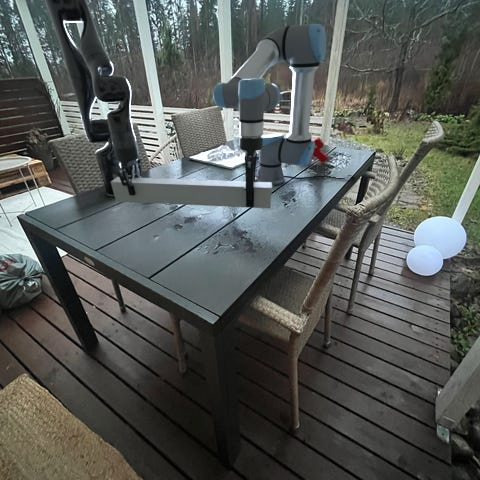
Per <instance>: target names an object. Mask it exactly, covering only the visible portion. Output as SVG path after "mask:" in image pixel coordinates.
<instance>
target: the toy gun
mask: <svg viewBox="0 0 480 480" xmlns="http://www.w3.org/2000/svg"><path fill="white" fill-rule="evenodd" d="M312 141H314V142H315V148H314V152H313V155H312V158H311V160H313V159H314V158H316V159H317V160H319V161H320V163H321V162H324V163H325V161H326V163H327V162H328V159H329V156H328V155H327V154H326V153H325V152H323V151H322V150H321V149H323V147H324V145H325V143H324V142H323V140H322V138H321V137H320V136H318V137H316V138H314V139H313V140H312ZM324 163H321V165H323V164H324Z"/></svg>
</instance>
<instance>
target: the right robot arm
mask: <svg viewBox="0 0 480 480" xmlns="http://www.w3.org/2000/svg"><path fill="white" fill-rule="evenodd" d="M326 33H327V32H326V30H325V27H324V25H322V24H320V23H307V24H306V23H305V24H296V25H295V24H294V25H284V26H280V27H278V28H276V29H274V30H272V31H271V32H269V33H268V34H266V35H265V36H264V37H263V38H262V39H261V40H260V41H259V42H258V44H257V45H256V49H255V51H254V52H253V54H251V56H249V57H248V59H247V60H246V61H245V62H244V63H243V65H242V66H240V68H239V69H238V70H237V71H236V72H235V73H234V74H233V76H231V78H230V79H229V80H228V81H227V82H219V83H216V84H215V86H214V88H213V91H212V98H213V102H214V104H215V105H216V107H218V108H223V109H231V110H232V109H233V110H234V109H235V110H238V124H237V125H236V126H237V128H238V132H239V133H238V135H240V136H239V137H238V146H239V148H238V149H241V150H243V151H244V152H245V157H244V160H245V163H244V169H245V181H246V188H244V190H246V207H245V208H250V207H254V182H272V186H279V185H281V184H283V183H284V181H285V178H286V179H294V180H306V179H307V180H308V179H313V178H315V179H316V178H330V179H333V180H334V179H335V180H345V179H346V178H336V177H337V176H333V177H331V176H332V175H327V176H318V175H312V176H313V177H308V176H303V177H302V176H301V177H296V176H291V175H284V172H283V171H284V170H283V167H282V165H283V164H286V165H287V164H288V165H292V166H294V165H295V166H299V167H300V166H301V167H305V166H307V165H308V164H309V163H310V162H311V160H312V159H311V158H312V155H313V152H314V148H315V142H314V141H313V140H312V137H313V136H312V135H311V132H310V124H311V115H312V103H313V93H314V86H315V85H314V84H315V74H316V71H317V70H318V69H319V67H320V63H321V62H323V61H324V60H325V58H326V53H327V34H326ZM282 62H283V63H289V69H290V70H291V71H292V87H291V88H292V89H291V106H290V107H291V108H290V120H289V121H290V123H289V124H290V125H289V132H288V133H287V134H286V136H285V135H284V134H283V133H270V134H266V135H264V123H265V121H264V118H265V117H264V116H265V115H264V114H265V112H266V111H272V110H273V109H275V108H276V107H277V106H278V105H279V104H280V102H281V98H282V93H281V90H280V88H279V87H278V86H277V84H275V83H269V82H266V83H265V80H264V79H263V78H262V77H263V76H264V75H265V73H266V72H267V71H268V69H270V68H271V67H274V66H275V65H276V64H278V63H282ZM309 132H310V133H309ZM257 151H259V153H257ZM258 157H259V158H258ZM257 160H258V167H257ZM256 168H257V171H256ZM347 176H352V177H350V178H351V179H354V176H353V175H351V174H348V175H347Z"/></svg>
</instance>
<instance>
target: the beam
mask: <svg viewBox="0 0 480 480" xmlns="http://www.w3.org/2000/svg"><path fill="white" fill-rule="evenodd" d="M129 181H130V179H129ZM111 185H112V188H113V192H114V195H115V197H114V199H115V202H116V203H137V204H138V203H139V204H160V205H161V204H162V205H182V206H188V205H189V206H208V207H229V208H235V207H236V208H247V207H246V190H244V188H246V180H245V181H243V180H240V181H239V180H218V179H217V180H216V179H215V180H214V179H191V178H190V179H186V178H161V177H159V178H156V177H141V178H134V179H133V185H134V188H135V193H136V194H135V195H134V196H133V195H129V192H128V188H127V186H123V185H122V182H121V180H120V178H119V177H117V178H115V179H114V180H113V181H111ZM272 190H273V185H272V182H254V207H249V208H253V209H271V205H272V192H273V191H272Z"/></svg>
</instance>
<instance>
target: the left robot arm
mask: <svg viewBox="0 0 480 480" xmlns="http://www.w3.org/2000/svg"><path fill="white" fill-rule="evenodd" d="M44 3H45V6H46V9H47V12H48V14H49V17H50V20H51V23H52V26H53V28H54V32H55V34H56V37H57V40H58V43H59V46H60V50H61V54H62V56H63V60H64V64H65V67H66V71H67V74H68V75H67V76H68V78H69V81H70V85H71V87H72V91H73V93H74V96H75V99H76V103H77V106H78V111H79V114H80V118H81V122H82V127H83V131H84V134H85V137H86V139H87V141H88V142H89V143H91V144H99V143H106V144H105V145H104V146H103V147H102V148H100V149H97V150H96V151H95V158H96V162H97V164H98V168H99V172H100V176H101V178H102V182H103V185H104V189H105V193H106V196H108V197H112V198H115V195H114V192H113V188H112V185H111V181H113V180H114V179H115V178H117V177H119V178H120V180H121V182H122V185H123V186H127V188H128V192H129V195H133V196H134V195H135V194H136V193H135V188H134V185H133V179H134V178H142V176H143V173H144V172H143V164H142V159H141V158H140V153H139V147H138V143H137V138H136V135H135V132H134V129H133V128H134V127H133V123H132V118H131V102H132V101H131V100H132V89H131V88H132V87H131V85H130V83H129V81H128V79H127V78H126V77H125V76H123V75H119V74H117V75H116V74H115V75H113V73H114V64H113V63H112V61H111V59H110V57H109V55H108V53H107V51H106V49H105V47H104V45H103V43H102V40H101V38H100V36H99V35H100V34H99V32H98V29H97V27H96V24H95V20H94V18H93V16H92V12H91V10H90V7H89V4H88V2H87V0H44ZM66 23H70V24H71V23H82V29H81V30H82V31H81V34H80V38H79V46H78V44H77V43H76V42H75V41H74V39H73V38H72V37H71V35H70V34H69V31H68V29H67V27H66ZM96 99H97V100H98V101H100V102H101V103H105V104H110V103H118V105H117V107H116V108H115V109H112V110H110V111H107V113H106V118H92V119H91V115H92V109H93V106H94V103H95V101H96ZM129 179H130V181H129Z"/></svg>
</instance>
